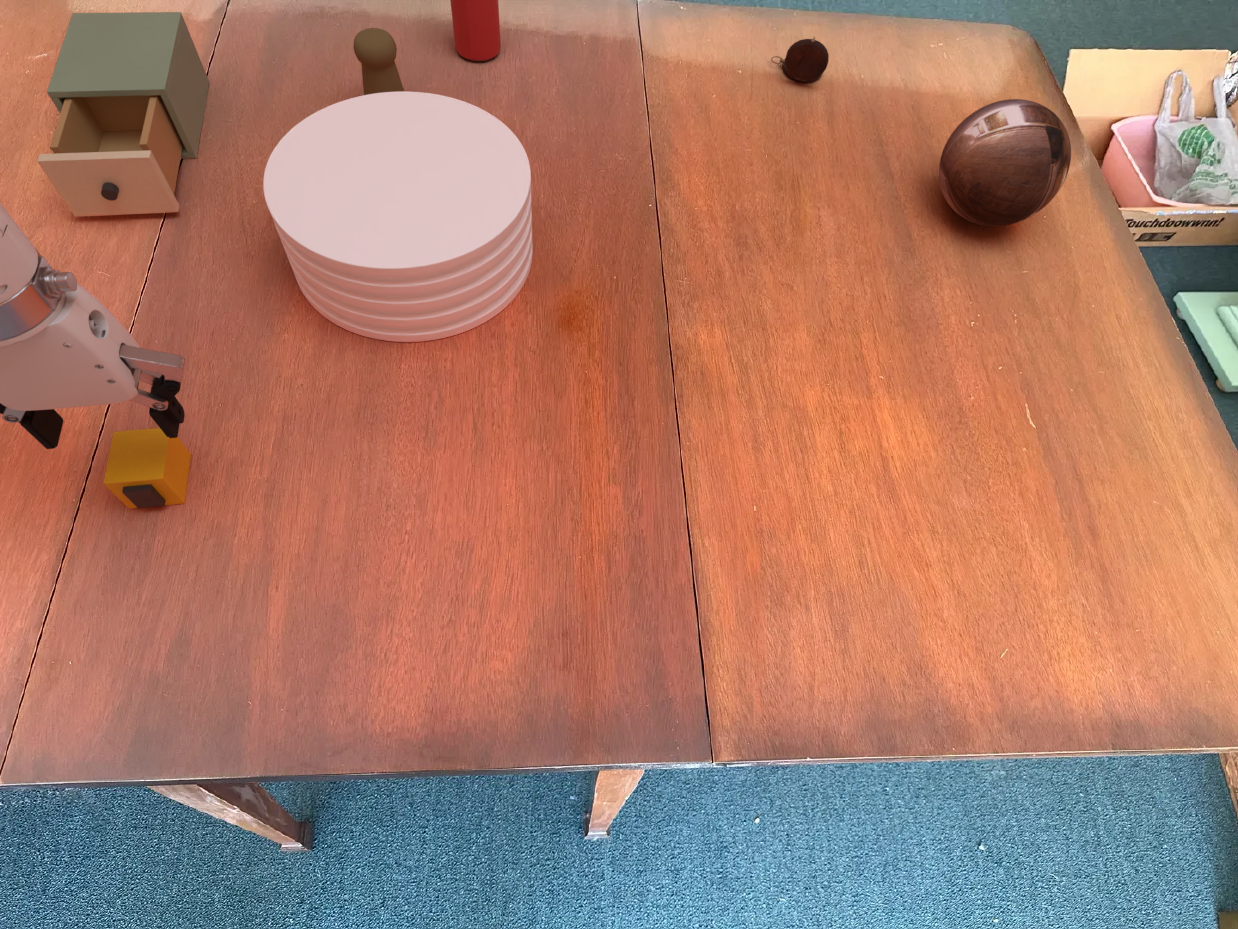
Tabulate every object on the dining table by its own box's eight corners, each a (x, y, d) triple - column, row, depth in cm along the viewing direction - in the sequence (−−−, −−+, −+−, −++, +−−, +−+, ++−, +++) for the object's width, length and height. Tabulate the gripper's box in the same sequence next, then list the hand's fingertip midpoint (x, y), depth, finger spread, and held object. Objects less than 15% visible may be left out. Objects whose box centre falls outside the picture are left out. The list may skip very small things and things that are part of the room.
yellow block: (127, 514, 74) (101, 489, 69) (137, 458, 77) (113, 431, 72) (184, 509, 74) (161, 484, 70) (191, 454, 78) (170, 426, 73)
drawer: (177, 219, 92) (147, 164, 85) (72, 224, 90) (34, 168, 84) (192, 132, 100) (166, 76, 93) (96, 135, 98) (62, 78, 91)
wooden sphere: (900, 182, 107) (948, 80, 94) (992, 165, 110) (1051, 66, 97) (955, 259, 100) (1016, 162, 87) (1052, 240, 103) (1123, 143, 90)
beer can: (464, 67, 112) (455, -20, 102) (449, 41, 115) (439, -46, 105) (507, 59, 114) (503, -27, 104) (492, 33, 117) (486, -53, 106)
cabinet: (196, 158, 99) (164, 88, 90) (89, 162, 97) (46, 91, 88) (209, 82, 106) (181, 11, 98) (110, 84, 104) (72, 12, 96)
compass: (823, 63, 120) (838, 15, 113) (818, 93, 116) (833, 46, 109) (772, 52, 120) (784, 4, 114) (765, 82, 116) (778, 34, 110)
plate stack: (294, 355, 84) (260, 281, 75) (293, 181, 98) (264, 98, 88) (549, 327, 89) (549, 254, 79) (515, 164, 103) (511, 84, 93)
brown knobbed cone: (376, 132, 104) (358, 54, 94) (358, 106, 106) (339, 27, 96) (418, 120, 106) (405, 41, 96) (399, 94, 108) (385, 15, 98)
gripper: (138, 244, 56) (225, 386, 71) (-131, 259, 54) (18, 403, 68) (121, 324, 52) (217, 456, 67) (-168, 344, 50) (-3, 476, 65)
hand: (116, 429), depth 68 cm, fingers open, 9 cm apart
